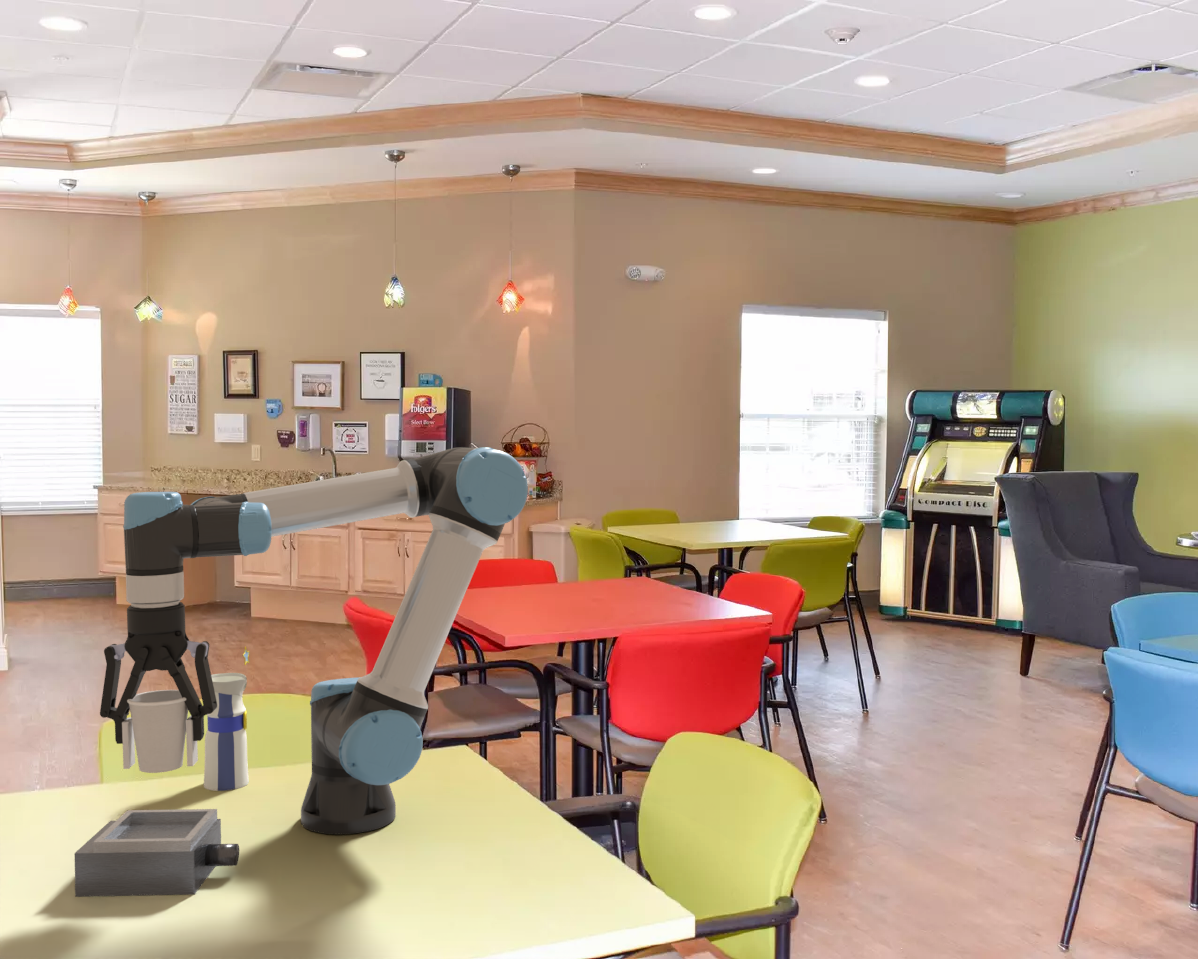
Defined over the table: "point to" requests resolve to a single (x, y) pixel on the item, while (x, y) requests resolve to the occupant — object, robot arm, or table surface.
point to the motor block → (153, 854)
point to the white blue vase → (227, 734)
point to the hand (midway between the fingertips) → (161, 764)
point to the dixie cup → (159, 729)
